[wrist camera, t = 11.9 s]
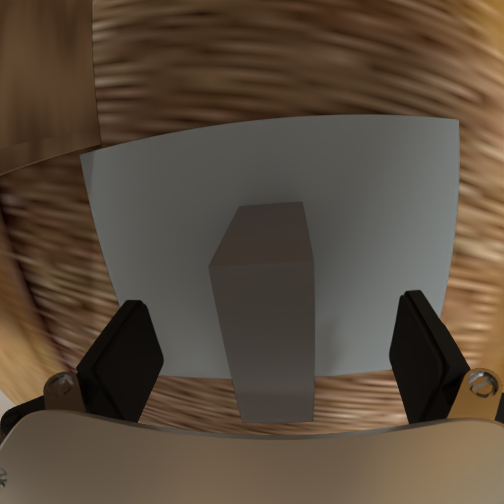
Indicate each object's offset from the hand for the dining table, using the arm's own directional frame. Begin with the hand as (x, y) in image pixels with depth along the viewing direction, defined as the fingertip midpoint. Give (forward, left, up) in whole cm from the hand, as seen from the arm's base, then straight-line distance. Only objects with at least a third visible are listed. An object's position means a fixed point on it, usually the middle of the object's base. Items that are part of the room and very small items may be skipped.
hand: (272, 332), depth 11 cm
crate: (-14, -17, -5) cm, 23 cm away
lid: (0, 0, -6) cm, 6 cm away
